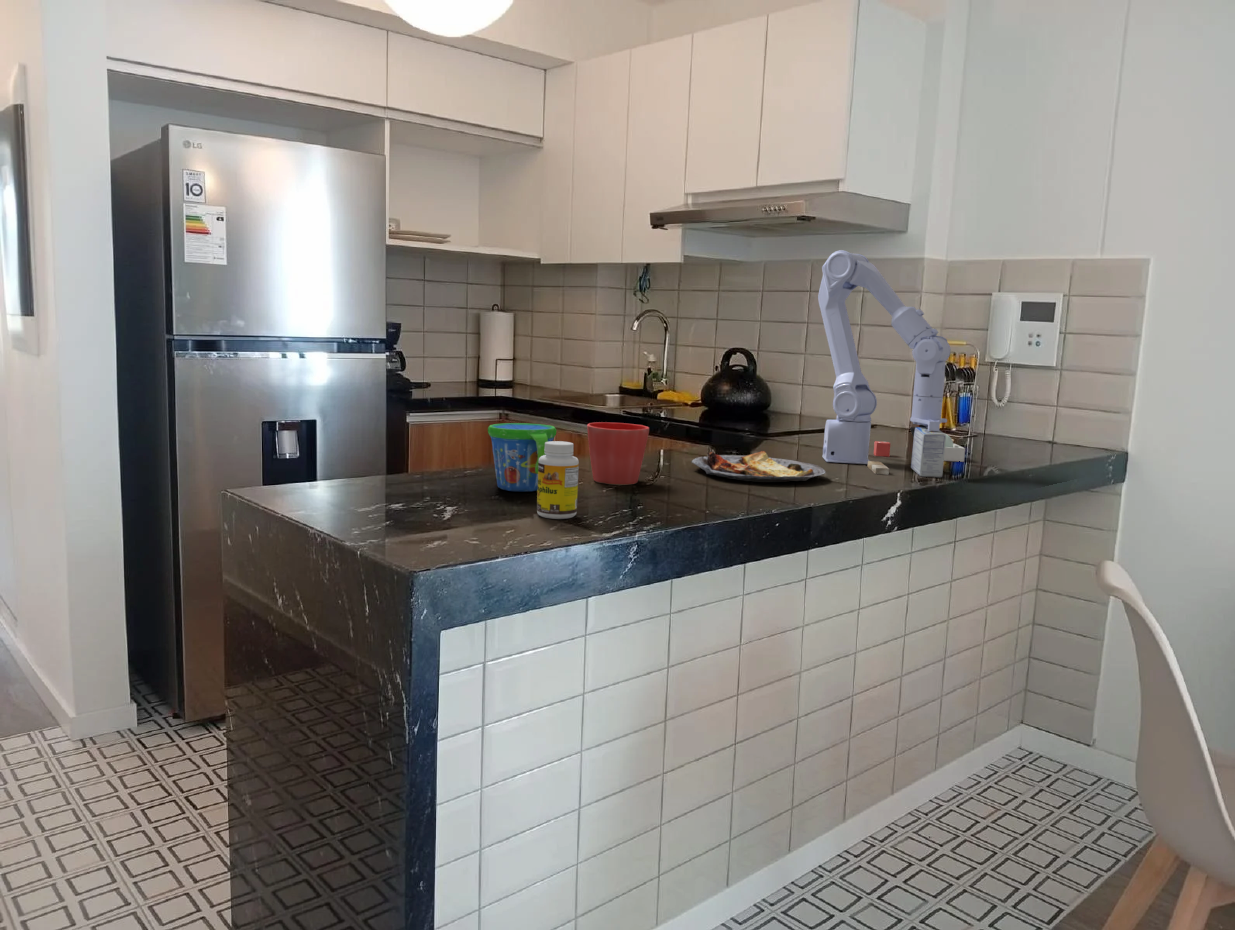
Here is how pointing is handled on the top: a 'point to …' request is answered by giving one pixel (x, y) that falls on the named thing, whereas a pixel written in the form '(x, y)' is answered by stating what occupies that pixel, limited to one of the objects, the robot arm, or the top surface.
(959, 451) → the white square frame
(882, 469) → the game track
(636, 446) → the flower pot
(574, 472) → the supplement bottle
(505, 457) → the snack cup
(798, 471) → the food plate
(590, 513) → the top surface
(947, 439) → the pale green ball
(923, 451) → the medicine box
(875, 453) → the red die
